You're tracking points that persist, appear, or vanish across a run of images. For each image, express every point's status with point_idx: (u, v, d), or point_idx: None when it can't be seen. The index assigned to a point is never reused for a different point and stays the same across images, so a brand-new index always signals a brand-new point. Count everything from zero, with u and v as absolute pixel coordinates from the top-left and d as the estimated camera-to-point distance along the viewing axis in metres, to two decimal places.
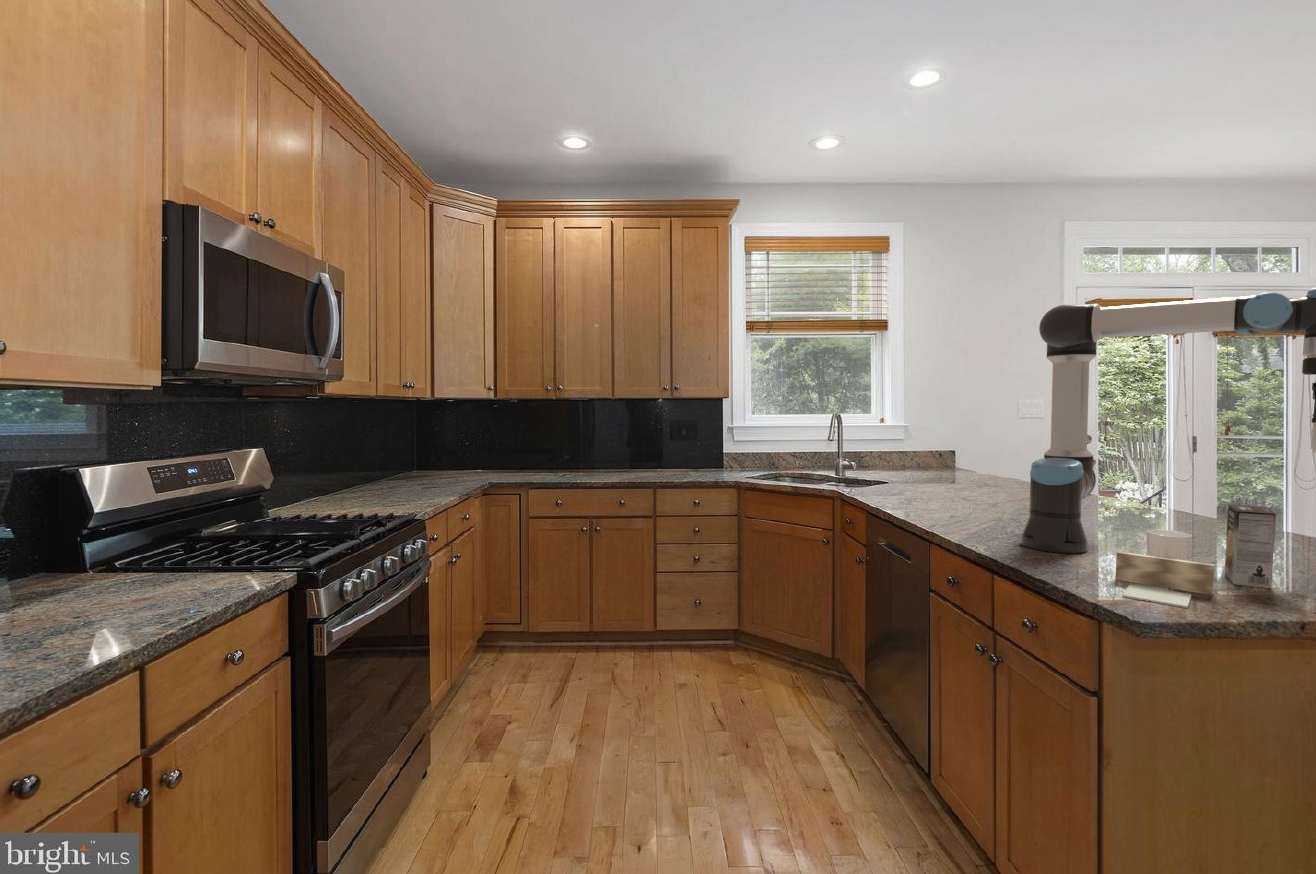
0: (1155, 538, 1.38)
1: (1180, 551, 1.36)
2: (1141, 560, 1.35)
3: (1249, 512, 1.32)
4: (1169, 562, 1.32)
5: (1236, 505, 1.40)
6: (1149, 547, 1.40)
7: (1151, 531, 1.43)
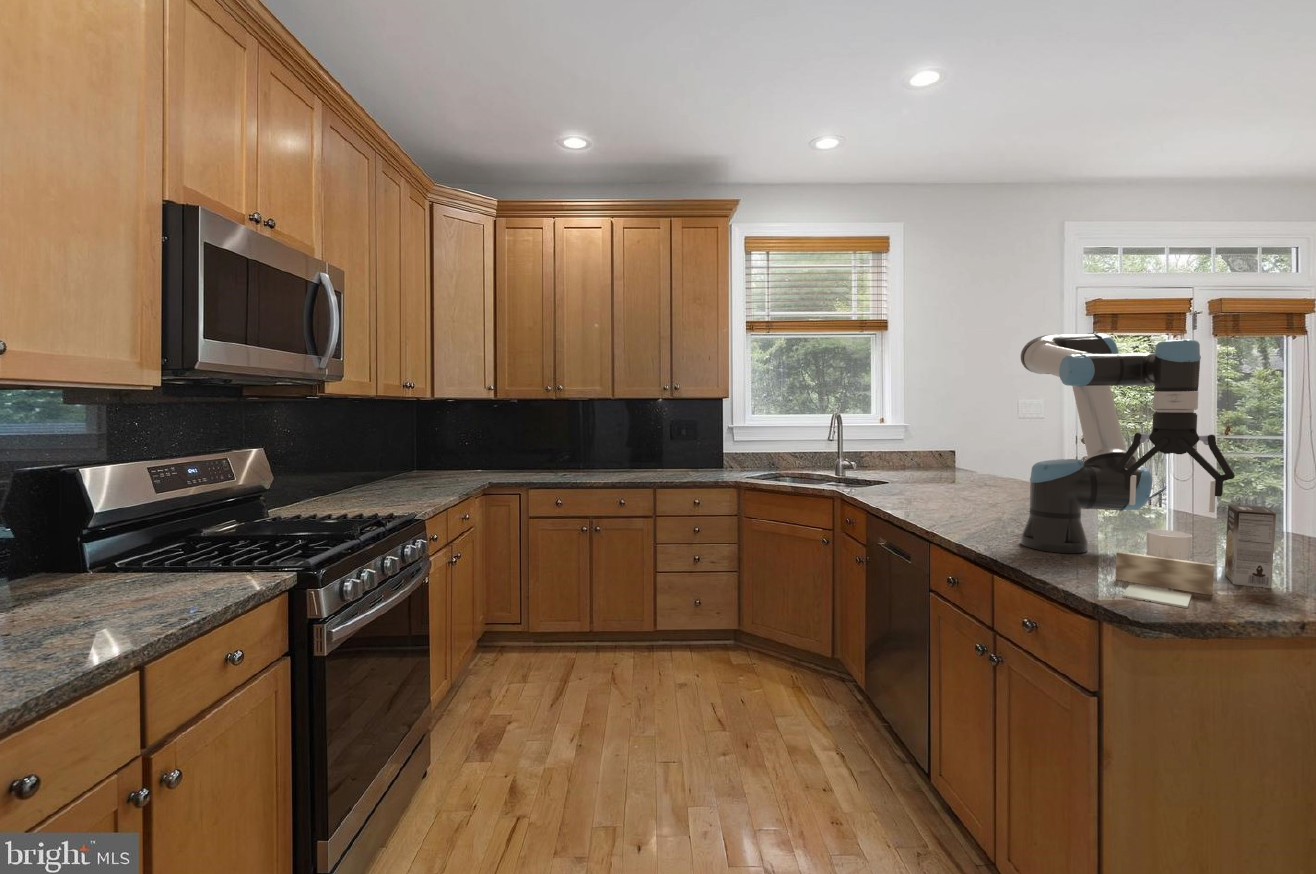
0: (1155, 538, 1.38)
1: (1180, 551, 1.36)
2: (1141, 560, 1.35)
3: (1249, 512, 1.32)
4: (1169, 562, 1.32)
5: (1236, 505, 1.40)
6: (1149, 547, 1.40)
7: (1151, 531, 1.43)
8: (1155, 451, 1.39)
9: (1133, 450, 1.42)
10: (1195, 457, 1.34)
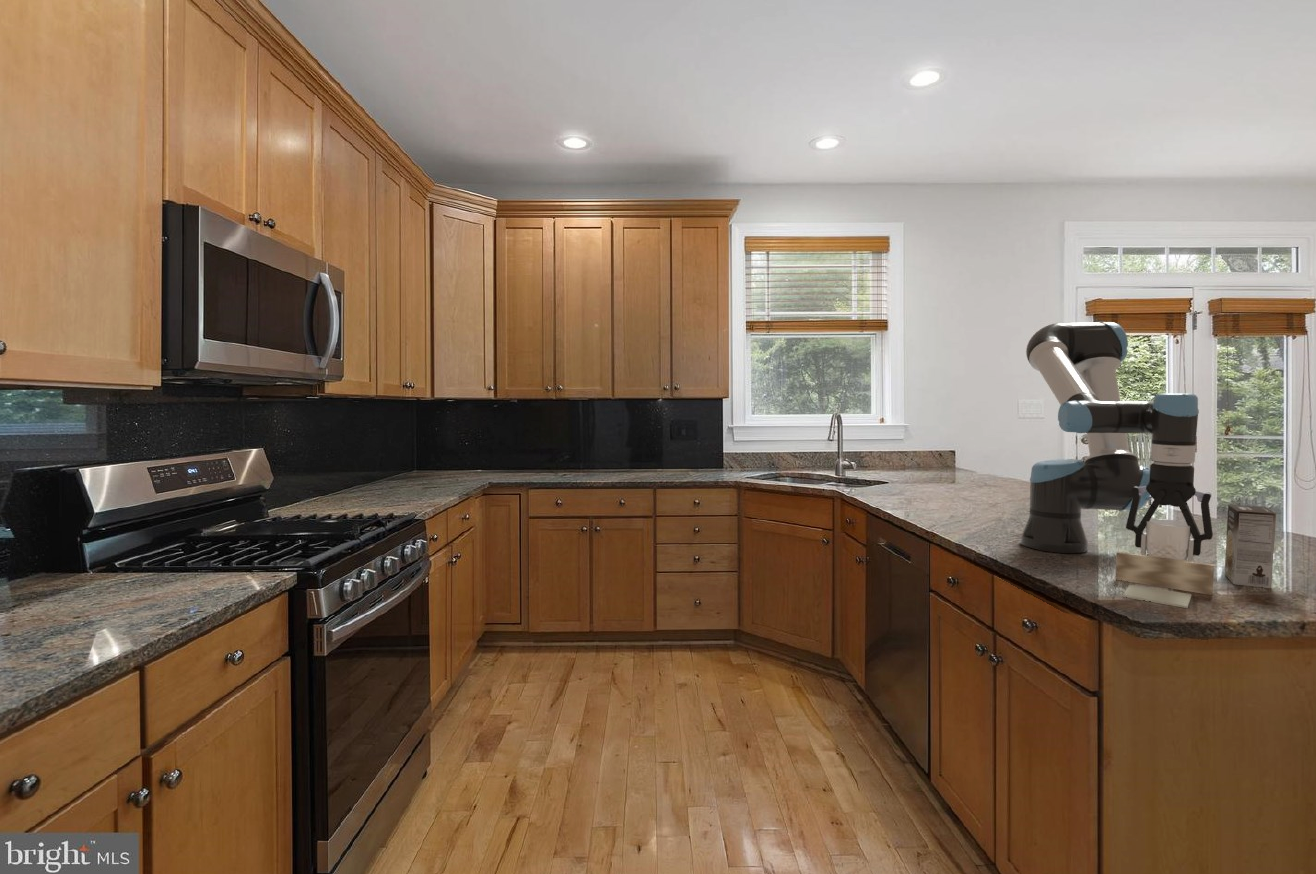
0: (1155, 528, 1.38)
1: (1180, 540, 1.36)
2: (1141, 560, 1.35)
3: (1249, 512, 1.32)
4: (1169, 562, 1.32)
5: (1236, 505, 1.40)
6: (1148, 536, 1.40)
7: (1151, 520, 1.43)
8: (1156, 504, 1.39)
9: (1136, 505, 1.42)
10: (1184, 512, 1.36)
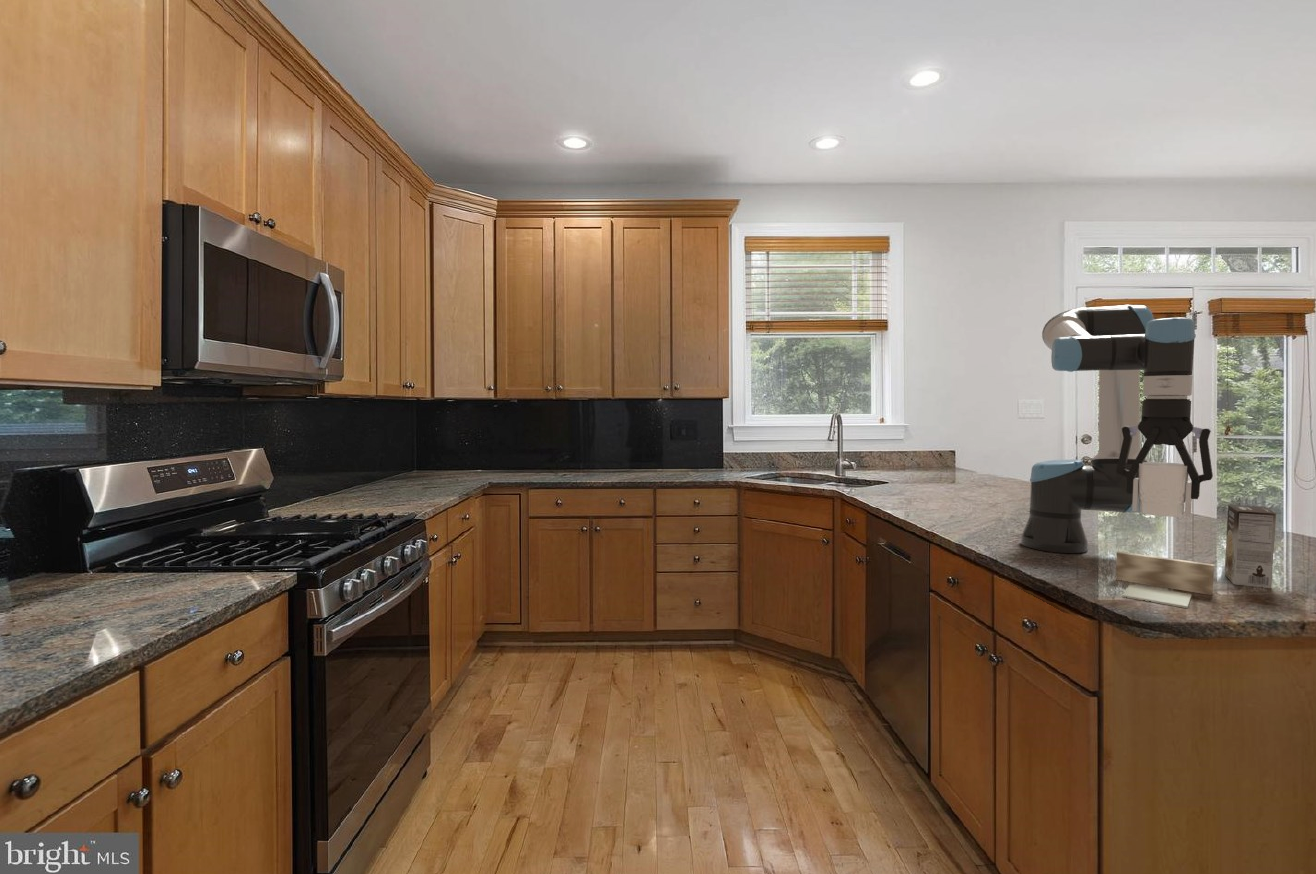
0: (1148, 469, 1.24)
1: (1176, 482, 1.21)
2: (1141, 560, 1.35)
3: (1249, 512, 1.32)
4: (1169, 562, 1.32)
5: (1236, 505, 1.40)
6: (1141, 480, 1.26)
7: (1144, 463, 1.28)
8: (1149, 444, 1.25)
9: (1127, 446, 1.28)
10: (1180, 451, 1.22)
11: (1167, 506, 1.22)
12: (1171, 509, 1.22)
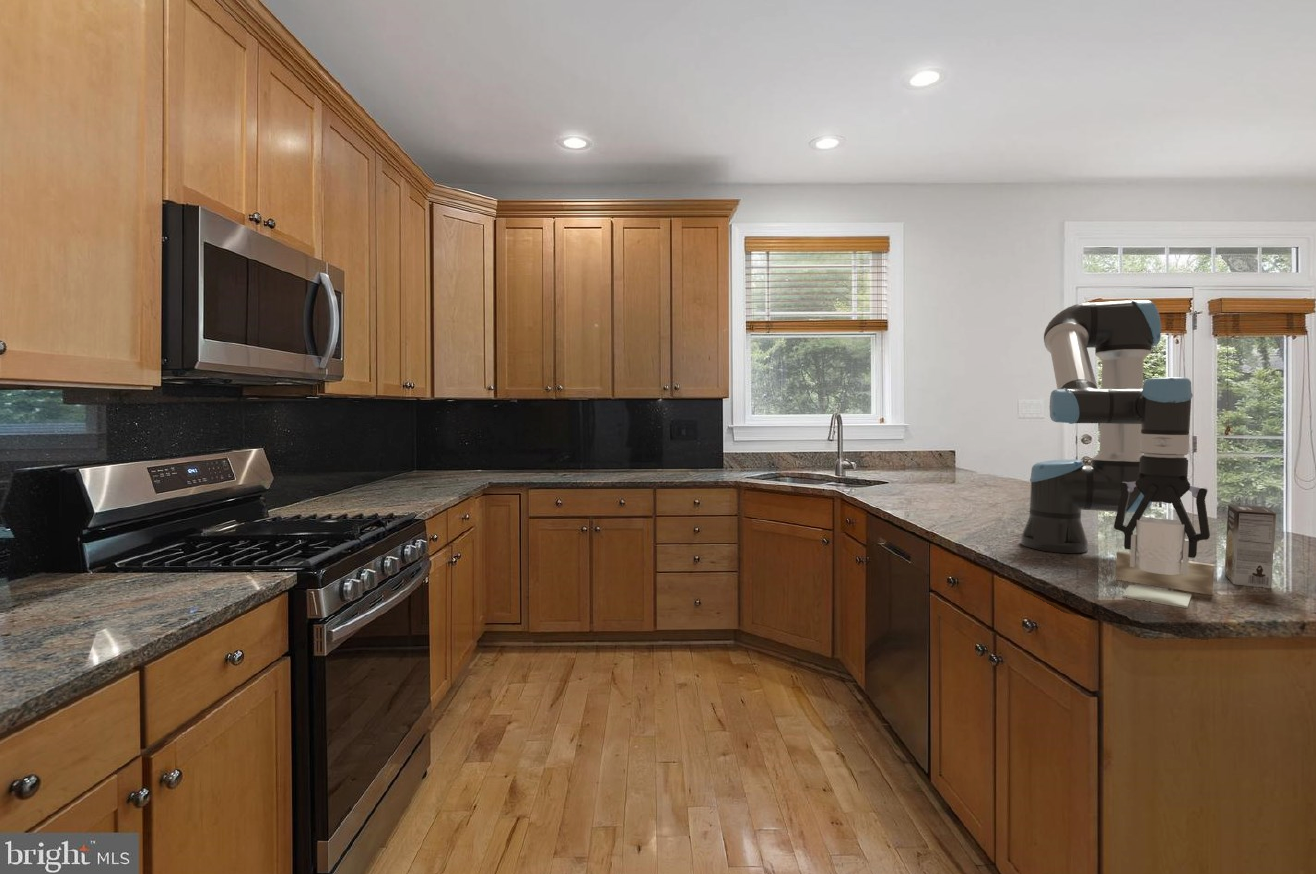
0: (1145, 527, 1.24)
1: (1173, 540, 1.22)
2: None
3: (1249, 512, 1.32)
4: None
5: (1236, 505, 1.40)
6: (1139, 537, 1.26)
7: (1142, 519, 1.29)
8: (1147, 501, 1.25)
9: (1125, 502, 1.28)
10: (1177, 510, 1.23)
11: (1164, 564, 1.23)
12: (1169, 567, 1.23)
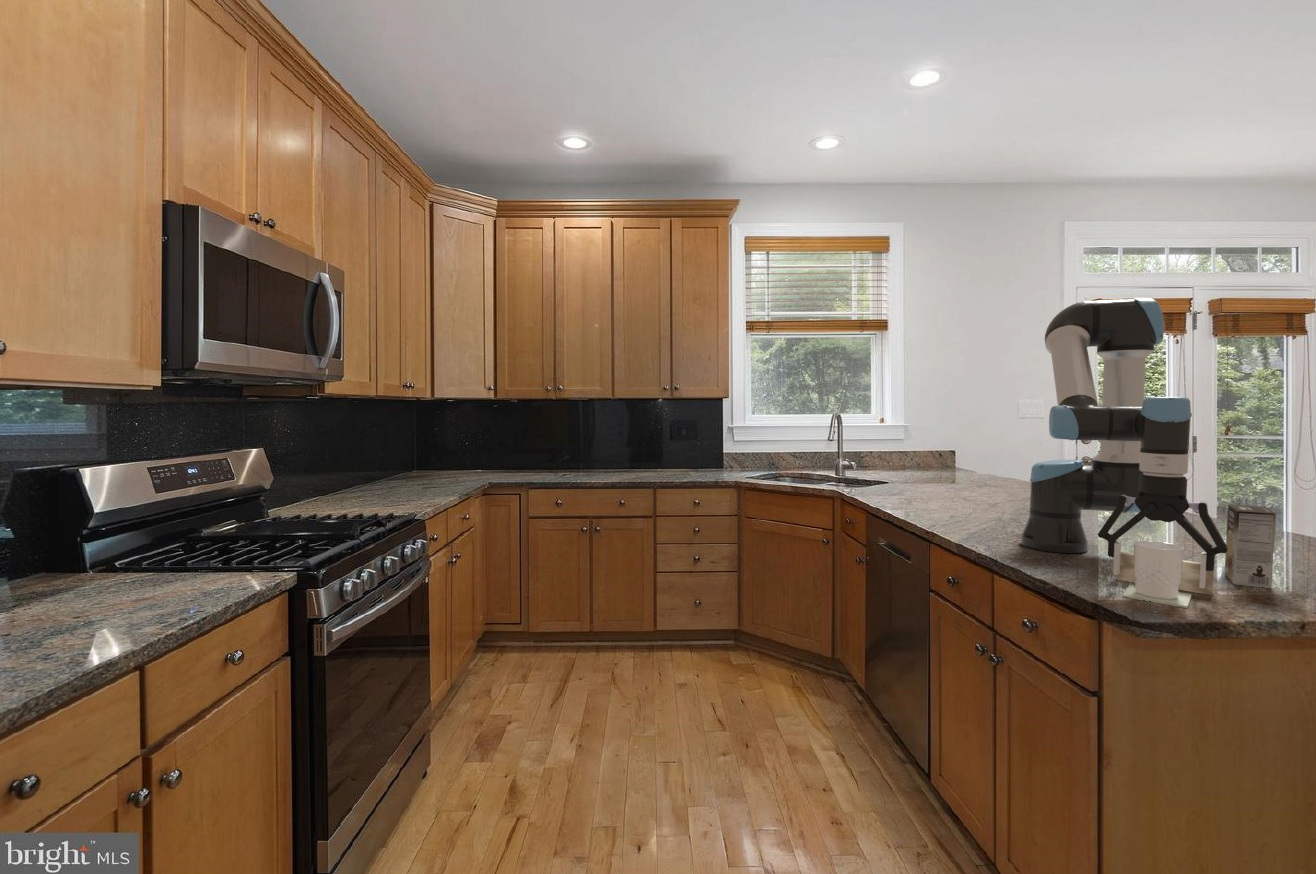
0: (1143, 551, 1.25)
1: (1171, 565, 1.22)
2: None
3: (1249, 512, 1.32)
4: None
5: (1236, 505, 1.40)
6: (1137, 560, 1.27)
7: (1140, 542, 1.30)
8: (1141, 517, 1.26)
9: (1117, 515, 1.29)
10: (1184, 526, 1.22)
11: (1162, 588, 1.23)
12: (1166, 592, 1.23)
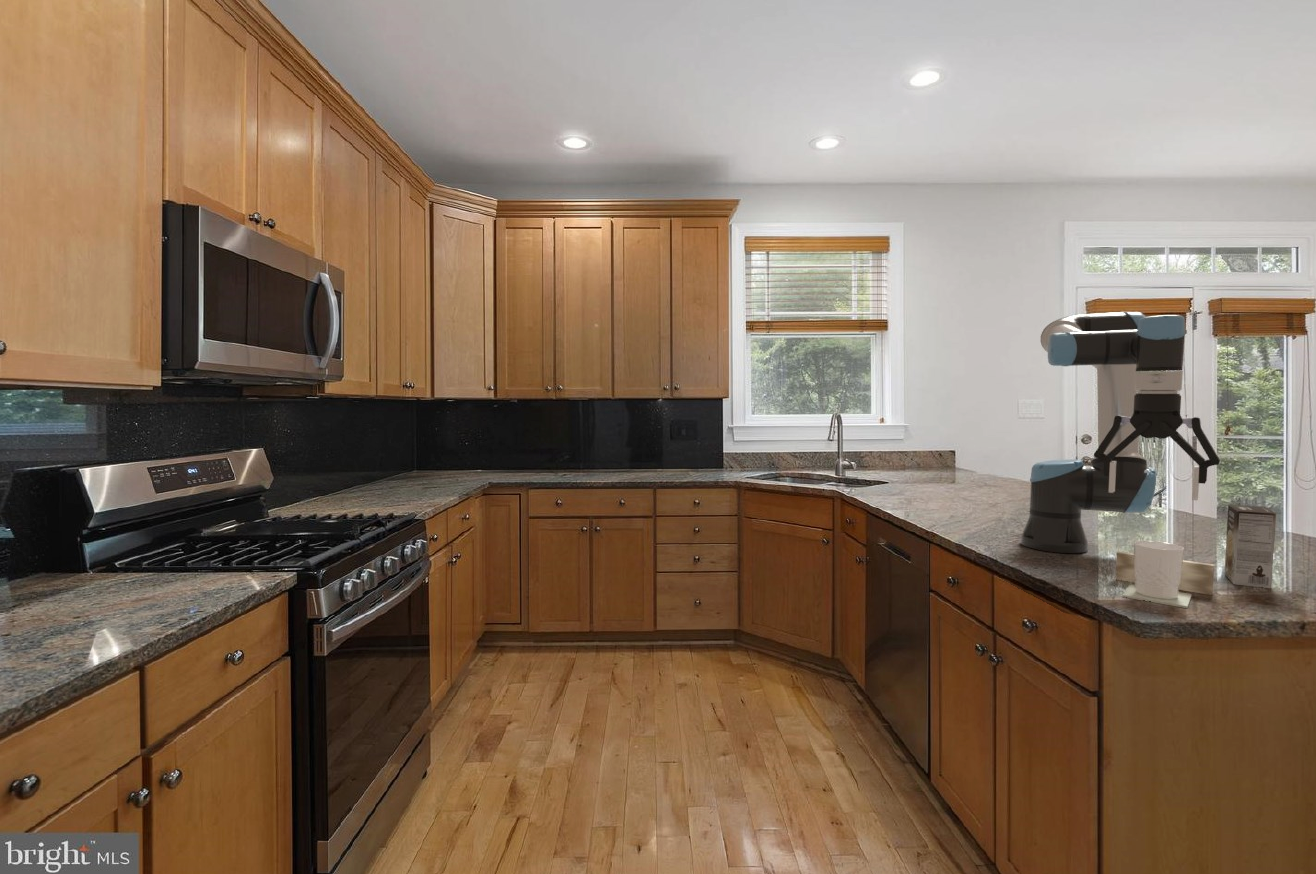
0: (1143, 551, 1.25)
1: (1171, 565, 1.22)
2: None
3: (1249, 512, 1.32)
4: None
5: (1236, 505, 1.40)
6: (1137, 560, 1.27)
7: (1140, 542, 1.30)
8: (1136, 435, 1.30)
9: (1113, 434, 1.33)
10: (1178, 441, 1.26)
11: (1162, 588, 1.23)
12: (1166, 592, 1.23)
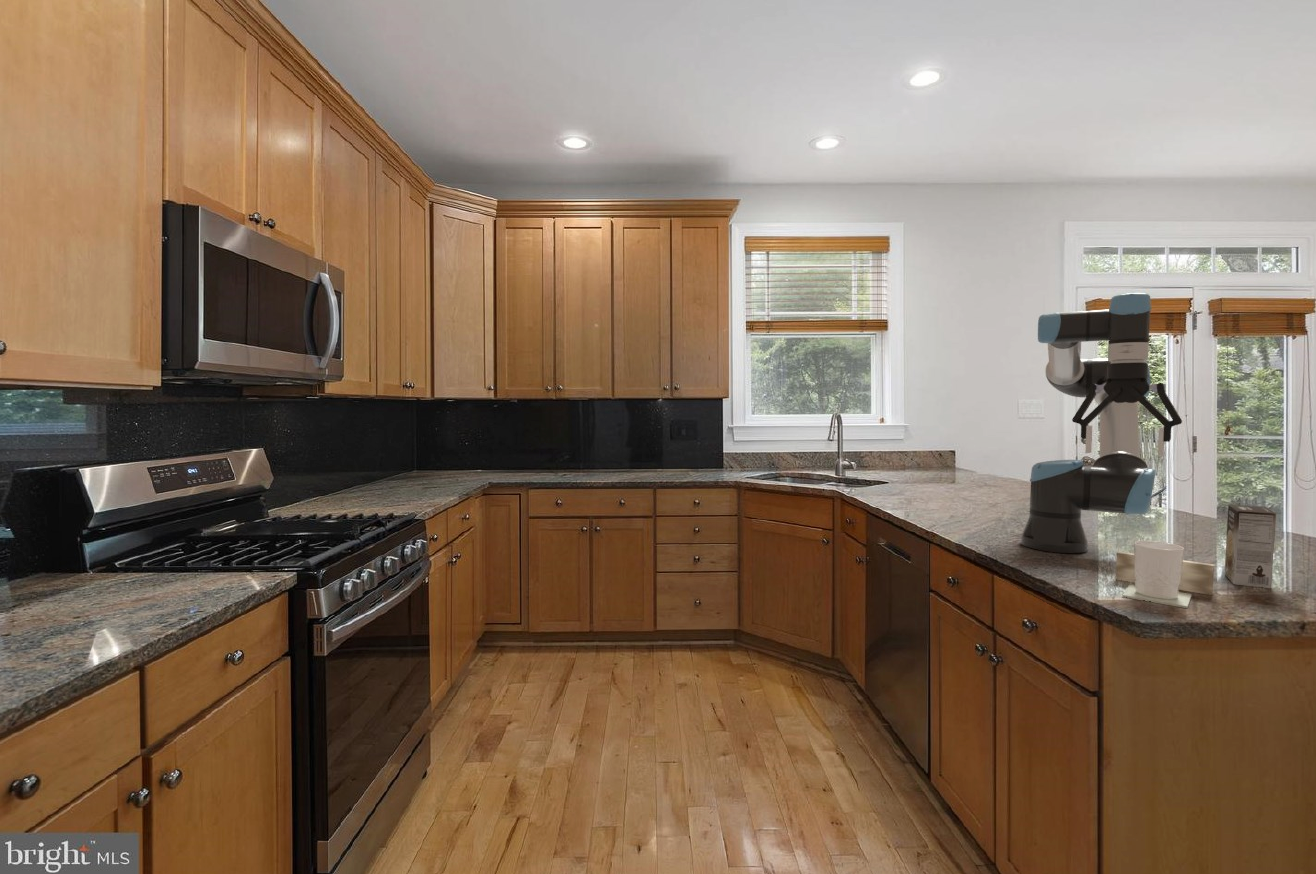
0: (1143, 551, 1.25)
1: (1171, 565, 1.22)
2: None
3: (1249, 512, 1.32)
4: None
5: (1236, 505, 1.40)
6: (1137, 560, 1.27)
7: (1140, 542, 1.30)
8: (1109, 400, 1.46)
9: (1089, 400, 1.49)
10: (1145, 405, 1.42)
11: (1162, 588, 1.23)
12: (1166, 592, 1.23)
